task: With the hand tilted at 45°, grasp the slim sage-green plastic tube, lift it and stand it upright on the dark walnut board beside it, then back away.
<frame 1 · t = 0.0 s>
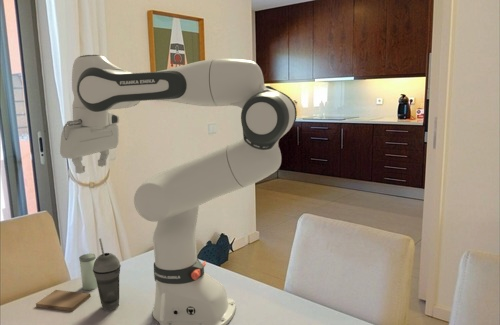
hand: (91, 169, 109), 39 cm above the table, tool pointing down, fingers open, 8 cm apart
beverage cup: (110, 306, 113), on the table
walnut board: (64, 301, 116), on the table
sage tube: (90, 286, 125), on the table
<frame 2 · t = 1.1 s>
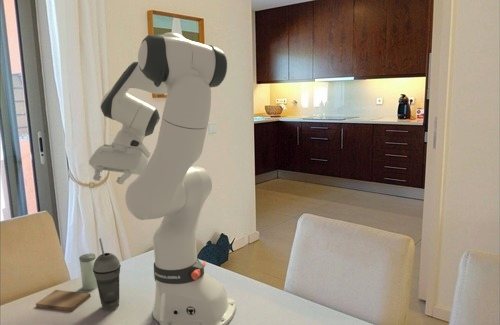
hand: (107, 181, 129), 31 cm above the table, tool tilted 45°, fingers open, 8 cm apart
nothing on the table moved.
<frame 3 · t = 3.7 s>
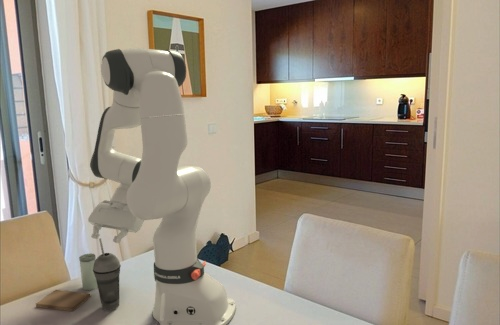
hand: (104, 240, 129), 13 cm above the table, tool tilted 45°, fingers open, 8 cm apart
nothing on the table moved.
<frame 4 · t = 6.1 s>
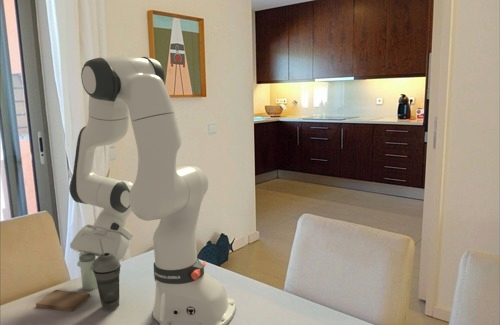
hand: (86, 268, 123), 6 cm above the table, tool tilted 45°, fingers closed on sage tube, 4 cm apart
sage tube: (90, 286, 125), on the table, touching gripper
everything else where it was.
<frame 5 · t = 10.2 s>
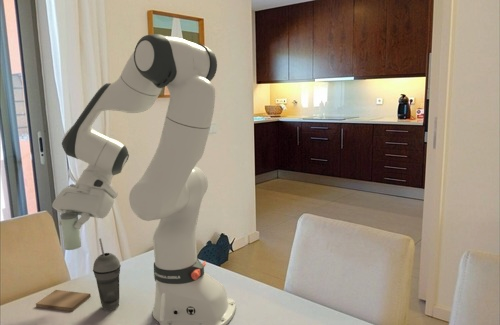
hand: (68, 226, 116), 21 cm above the table, tool tilted 45°, fingers closed on sage tube, 4 cm apart
sage tube: (72, 247, 118), point 15 cm above the table, touching gripper
everything else where it was.
when the fingers open (9 cm above the table, at t = 14.2 s): sage tube drops 1 cm, resting on walnut board.
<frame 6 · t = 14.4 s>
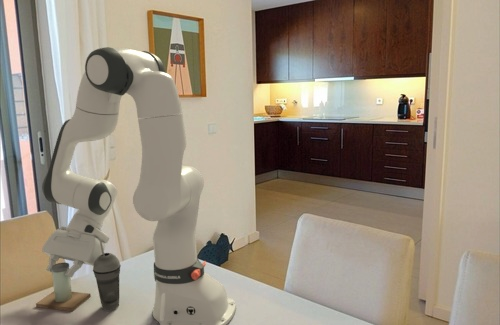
hand: (58, 274, 114), 9 cm above the table, tool tilted 45°, fingers open, 6 cm apart
sage tube: (63, 298, 116), point 1 cm above the table, touching walnut board
everything else where it was.
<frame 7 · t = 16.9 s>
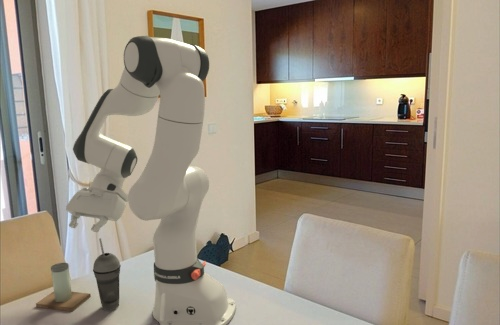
hand: (82, 229, 121), 19 cm above the table, tool tilted 45°, fingers open, 8 cm apart
nothing on the table moved.
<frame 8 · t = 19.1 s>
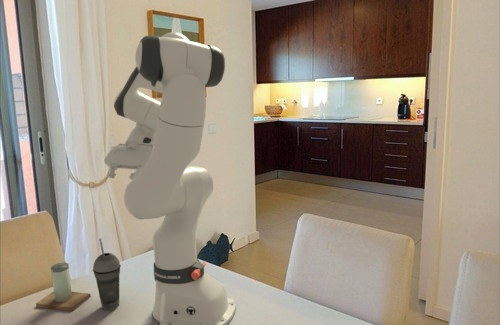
hand: (121, 178, 132), 31 cm above the table, tool tilted 45°, fingers open, 8 cm apart
nothing on the table moved.
at the end: sage tube inside the target area on the walnut board (0.0 cm from its centre), point 1.0 cm above the walnut board's base; sage tube tilted 0°; the gripper is holding nothing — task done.
